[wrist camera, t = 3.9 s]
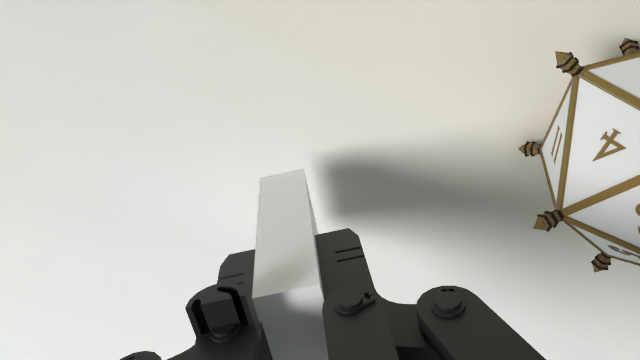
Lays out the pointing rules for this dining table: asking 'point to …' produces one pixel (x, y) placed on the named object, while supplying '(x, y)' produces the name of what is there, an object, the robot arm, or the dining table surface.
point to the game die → (596, 155)
